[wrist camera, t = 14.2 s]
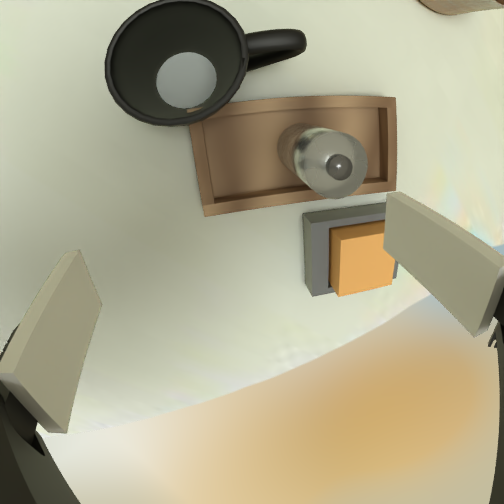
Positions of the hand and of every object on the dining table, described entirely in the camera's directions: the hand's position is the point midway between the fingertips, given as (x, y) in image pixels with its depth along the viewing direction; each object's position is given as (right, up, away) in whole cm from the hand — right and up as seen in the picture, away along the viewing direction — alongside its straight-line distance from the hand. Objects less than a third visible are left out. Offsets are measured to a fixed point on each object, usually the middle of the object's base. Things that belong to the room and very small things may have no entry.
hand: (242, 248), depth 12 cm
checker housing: (+11, +1, +19) cm, 22 cm away
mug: (-3, +15, +10) cm, 18 cm away
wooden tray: (+4, +9, +14) cm, 17 cm away
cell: (+5, +9, +13) cm, 17 cm away
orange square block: (+11, 0, +18) cm, 21 cm away
